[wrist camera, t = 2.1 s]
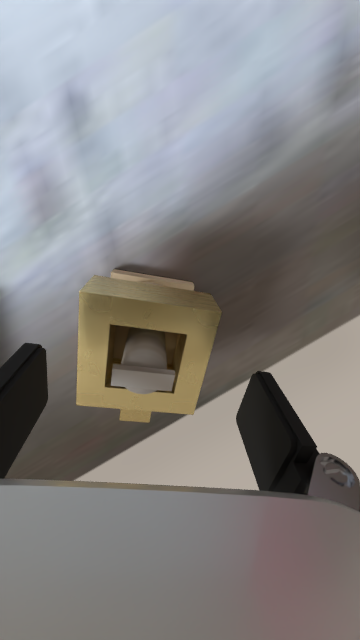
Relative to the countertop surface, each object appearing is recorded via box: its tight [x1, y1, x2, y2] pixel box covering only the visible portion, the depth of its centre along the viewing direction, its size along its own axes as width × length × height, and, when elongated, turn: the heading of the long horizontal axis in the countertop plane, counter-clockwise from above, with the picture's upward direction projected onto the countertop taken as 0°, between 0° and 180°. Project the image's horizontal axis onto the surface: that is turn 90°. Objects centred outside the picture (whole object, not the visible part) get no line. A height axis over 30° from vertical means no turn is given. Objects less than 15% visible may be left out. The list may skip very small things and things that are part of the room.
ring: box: [76, 275, 222, 423], centre depth 15 cm, size 7×9×3 cm
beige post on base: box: [111, 269, 194, 394], centre depth 16 cm, size 6×6×9 cm
